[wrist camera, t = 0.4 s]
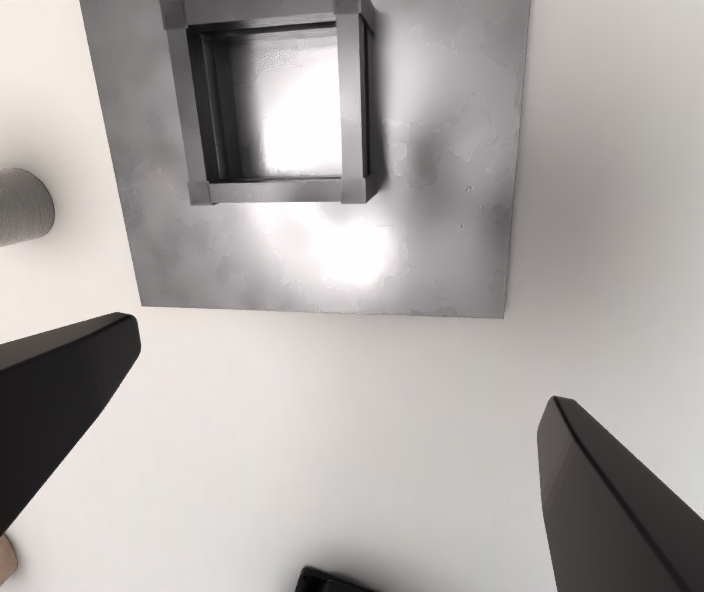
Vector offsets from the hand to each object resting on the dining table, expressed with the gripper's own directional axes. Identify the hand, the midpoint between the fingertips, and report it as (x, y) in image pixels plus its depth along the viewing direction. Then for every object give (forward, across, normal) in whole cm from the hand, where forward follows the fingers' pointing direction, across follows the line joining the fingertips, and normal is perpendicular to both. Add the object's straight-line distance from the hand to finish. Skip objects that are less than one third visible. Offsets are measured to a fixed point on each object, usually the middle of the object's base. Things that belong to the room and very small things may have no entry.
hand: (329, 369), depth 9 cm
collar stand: (+15, +5, -3) cm, 16 cm away
